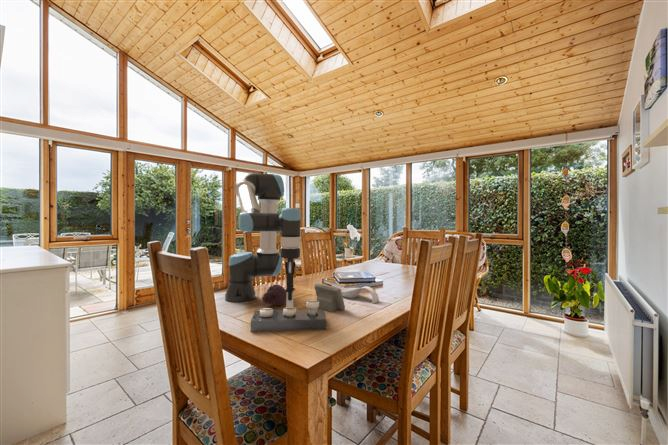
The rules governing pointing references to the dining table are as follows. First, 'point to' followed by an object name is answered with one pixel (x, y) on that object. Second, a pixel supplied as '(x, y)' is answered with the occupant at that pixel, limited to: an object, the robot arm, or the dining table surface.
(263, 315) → the left knob
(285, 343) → the dining table surface
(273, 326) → the knob plate
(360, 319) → the dining table surface
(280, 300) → the pine cone
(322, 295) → the digital clock
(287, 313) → the middle knob
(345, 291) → the grey curved piece
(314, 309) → the right knob
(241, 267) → the robot arm
